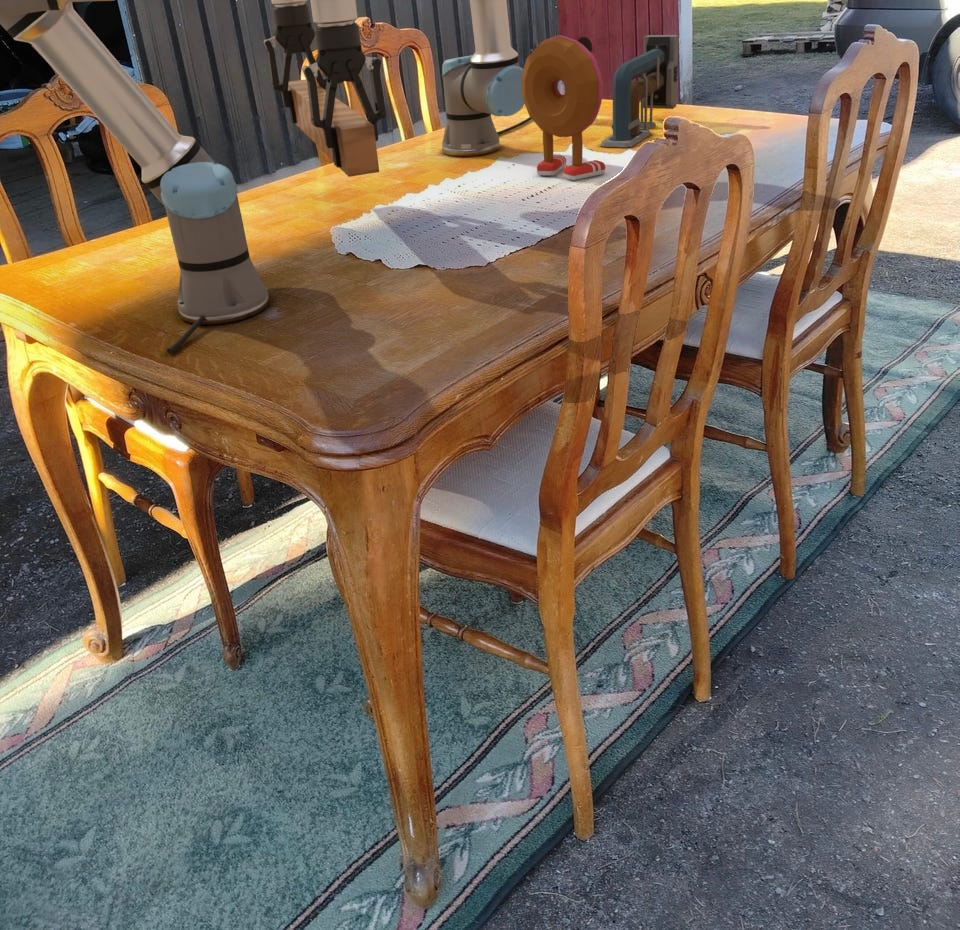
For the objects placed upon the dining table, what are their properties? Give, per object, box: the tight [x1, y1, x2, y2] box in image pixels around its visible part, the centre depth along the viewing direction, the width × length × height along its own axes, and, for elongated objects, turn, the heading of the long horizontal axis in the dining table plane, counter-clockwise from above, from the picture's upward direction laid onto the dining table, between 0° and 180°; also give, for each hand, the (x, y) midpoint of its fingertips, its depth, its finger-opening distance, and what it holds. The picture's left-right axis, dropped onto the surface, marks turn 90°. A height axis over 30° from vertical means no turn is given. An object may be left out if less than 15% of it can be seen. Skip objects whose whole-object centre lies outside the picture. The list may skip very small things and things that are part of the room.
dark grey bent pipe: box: [599, 34, 679, 148], centre depth 253 cm, size 35×9×21 cm, turn 151°
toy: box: [521, 34, 606, 181], centre depth 218 cm, size 21×10×30 cm, turn 47°
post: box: [288, 78, 380, 178], centre depth 192 cm, size 60×6×8 cm, turn 19°
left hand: (355, 162), depth 175 cm, fingers closed on post, 6 cm apart
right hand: (308, 120), depth 213 cm, fingers closed on post, 6 cm apart
